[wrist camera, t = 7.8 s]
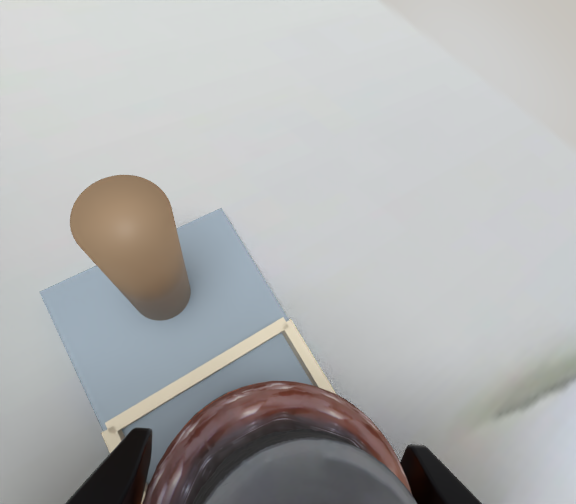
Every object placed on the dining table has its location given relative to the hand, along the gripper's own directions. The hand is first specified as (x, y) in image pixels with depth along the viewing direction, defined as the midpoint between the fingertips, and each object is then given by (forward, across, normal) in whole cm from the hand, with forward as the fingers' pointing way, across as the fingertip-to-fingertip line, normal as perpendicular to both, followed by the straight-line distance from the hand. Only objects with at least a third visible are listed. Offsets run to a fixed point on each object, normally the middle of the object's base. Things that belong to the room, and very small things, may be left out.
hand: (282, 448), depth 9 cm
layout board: (+7, +2, +5) cm, 9 cm away
